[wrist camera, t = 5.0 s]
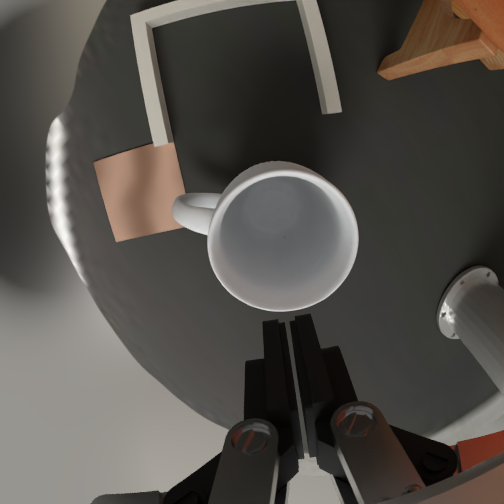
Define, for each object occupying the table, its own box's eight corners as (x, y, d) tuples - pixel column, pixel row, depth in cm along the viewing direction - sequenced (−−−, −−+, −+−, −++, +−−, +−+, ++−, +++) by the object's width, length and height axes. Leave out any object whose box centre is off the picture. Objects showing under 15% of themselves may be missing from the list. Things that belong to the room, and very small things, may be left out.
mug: (182, 238, 35) (150, 295, 23) (193, 141, 31) (159, 149, 19) (310, 257, 36) (337, 320, 24) (331, 164, 32) (376, 185, 20)
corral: (306, -11, 25) (310, -20, 22) (335, 113, 30) (342, 111, 28) (137, 22, 26) (130, 15, 23) (160, 145, 31) (154, 147, 29)
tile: (173, 137, 31) (172, 138, 31) (193, 224, 35) (193, 225, 35) (93, 162, 32) (93, 162, 32) (116, 241, 35) (116, 242, 35)
